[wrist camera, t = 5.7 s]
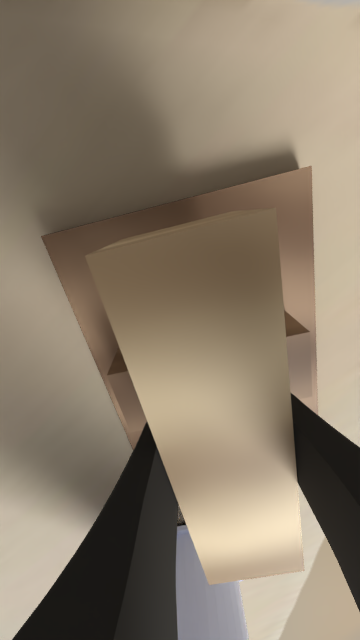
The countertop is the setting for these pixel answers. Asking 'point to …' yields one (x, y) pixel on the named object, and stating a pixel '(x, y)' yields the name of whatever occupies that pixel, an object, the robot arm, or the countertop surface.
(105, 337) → the fulcrum
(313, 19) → the countertop surface
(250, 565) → the beam
